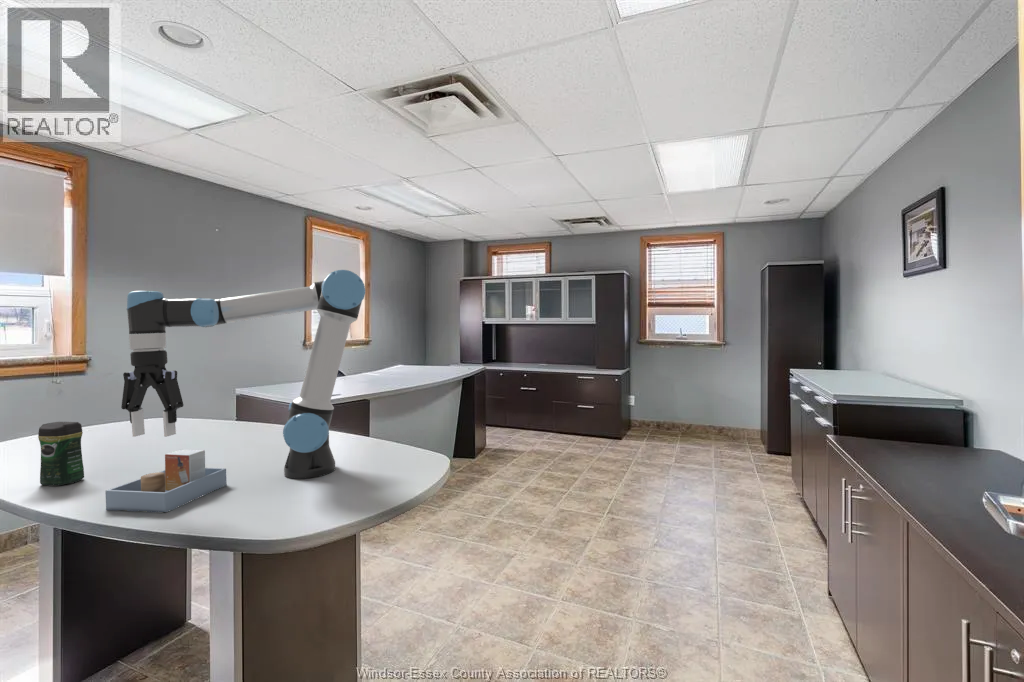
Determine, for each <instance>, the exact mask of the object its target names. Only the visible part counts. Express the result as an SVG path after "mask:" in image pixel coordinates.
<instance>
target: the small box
mask: <svg viewBox="0 0 1024 682" xmlns="http://www.w3.org/2000/svg"><path fill="white" fill-rule="evenodd" d="M205 468H206V451H205V449H204V450H203V449H200V450H199V449H198V450H197V449H195V450H193V449H183V448H182V449H178V450H175V451H171V452H168V453H165V454H164V470H165V490H172V489H175V488H177V487H180V486H182V485H184V484H187V483H189V482H192V481H194V480H197V479H199V478H202V477H204V476H205Z"/></svg>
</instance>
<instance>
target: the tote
mask: <svg viewBox="0 0 1024 682" xmlns="http://www.w3.org/2000/svg"><path fill="white" fill-rule="evenodd" d="M160 472H163V473H165V469H164V470H161V471H160ZM225 485H226V486H228V484H227V468H222V467H221V468H220V467H219V468H218V467H217V468H216V467H205V476H204V477H202V478H199V479H197V480H194V481H192V482H189V483H187V484H184V485H182V486H180V487H177V488H175V489H172V490H165V492H145V491H141V477H140V478H138V479H135V480H131V481H129V482H126V483H123V484H121V485H118V486H114V487H112V488H110V489H106V490H105V491H104V492H105V510H106V511H117V510H127V511H126V512H136V511H147V512H146V513H155V512H167V511H169V510H171V511H173V510H175V509H177V508H176V507H178V506H180V507H181V505H182V506H184V505H186V504H188V503H187V502H189V501H191V500H193V499H195V500H197V499H199V498H198V497H200V496H202V495H204V496H205V494H206V495H208V494H207V493H209V492H211V491H213V492H215V491H217V490H219V488H220V489H222V488H223V486H224V487H226V486H225ZM221 487H222V488H221ZM216 489H217V490H216ZM214 490H215V491H214ZM211 493H212V492H211ZM209 494H210V493H209ZM202 497H203V496H202ZM196 498H197V499H196ZM200 498H201V497H200ZM193 501H194V500H193ZM191 502H192V501H191ZM185 503H186V504H185ZM189 503H190V502H189ZM183 504H184V505H183ZM174 508H175V509H174ZM178 508H179V507H178ZM172 509H173V510H172ZM169 512H170V511H169ZM167 513H168V512H167Z"/></svg>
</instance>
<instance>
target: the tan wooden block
mask: <svg viewBox="0 0 1024 682" xmlns="http://www.w3.org/2000/svg"><path fill="white" fill-rule="evenodd" d="M140 478H141V491H145V492H165V473H163V472H161V471H159V472H152V473H148V474H147V473H146V474H144V475H142V476H141V477H140Z"/></svg>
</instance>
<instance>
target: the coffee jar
mask: <svg viewBox="0 0 1024 682" xmlns="http://www.w3.org/2000/svg"><path fill="white" fill-rule="evenodd" d="M82 427H83V426H82V424H81V423H80V422H79V421H53V422H48V423H43V424H42V425H40V426H39V428H38V433H37V434H38V436H37V439H38V440H39V445H40V471H39V474H40V475H39V483H40V485H42V486H48V485H50V486H52V487H53V486H54V487H55V486H56V487H57V486H63V485H66V484H67V485H68V484H75V483H77V481H78V482H79V481H81V480H82V479H84V478H85V470H84V467H85V466H84V463H83V461H84V460H83V453H82V452H83V451H82V437H83V428H82ZM74 482H75V483H74Z"/></svg>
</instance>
